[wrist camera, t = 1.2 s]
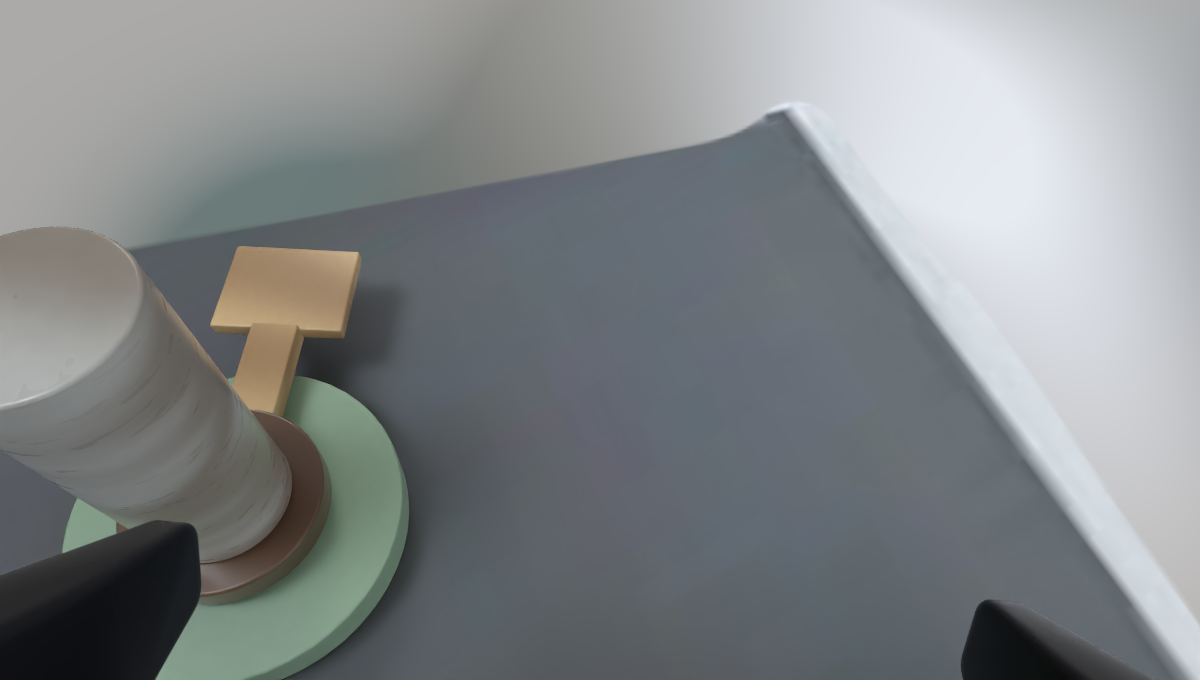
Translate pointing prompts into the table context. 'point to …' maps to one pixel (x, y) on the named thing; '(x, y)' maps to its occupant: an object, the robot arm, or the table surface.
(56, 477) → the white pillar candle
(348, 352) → the table surface
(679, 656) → the table surface
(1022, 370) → the table surface
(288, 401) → the stand
